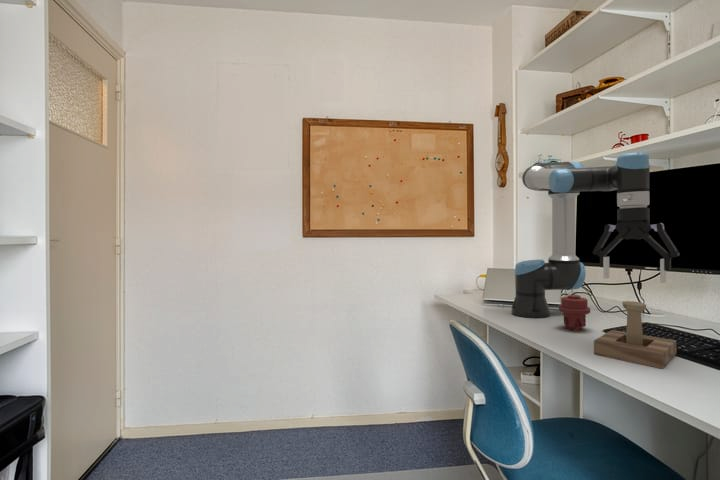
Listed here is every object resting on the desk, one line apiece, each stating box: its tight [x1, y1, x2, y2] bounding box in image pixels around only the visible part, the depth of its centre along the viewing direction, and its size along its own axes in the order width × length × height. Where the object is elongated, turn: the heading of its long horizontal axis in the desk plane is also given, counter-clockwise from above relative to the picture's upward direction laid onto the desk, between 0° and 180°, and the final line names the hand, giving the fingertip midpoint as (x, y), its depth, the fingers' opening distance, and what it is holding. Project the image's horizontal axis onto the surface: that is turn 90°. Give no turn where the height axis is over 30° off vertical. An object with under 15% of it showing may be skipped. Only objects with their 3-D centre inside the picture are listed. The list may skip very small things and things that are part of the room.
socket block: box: [593, 329, 677, 370], centre depth 107 cm, size 16×16×4 cm
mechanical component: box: [558, 294, 591, 332], centre depth 134 cm, size 12×10×10 cm
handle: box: [622, 300, 647, 346], centre depth 107 cm, size 5×6×15 cm
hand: (633, 280), depth 106 cm, fingers open, 13 cm apart
